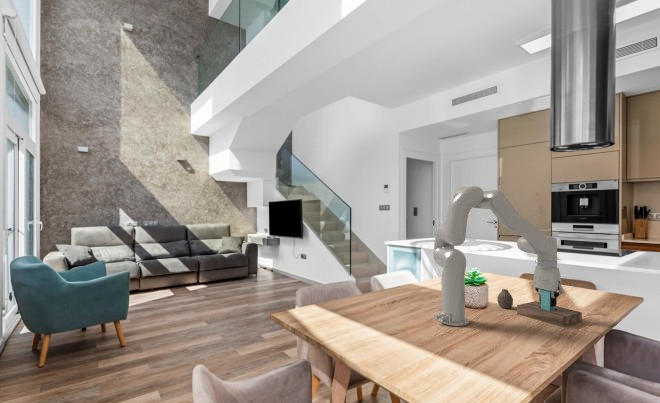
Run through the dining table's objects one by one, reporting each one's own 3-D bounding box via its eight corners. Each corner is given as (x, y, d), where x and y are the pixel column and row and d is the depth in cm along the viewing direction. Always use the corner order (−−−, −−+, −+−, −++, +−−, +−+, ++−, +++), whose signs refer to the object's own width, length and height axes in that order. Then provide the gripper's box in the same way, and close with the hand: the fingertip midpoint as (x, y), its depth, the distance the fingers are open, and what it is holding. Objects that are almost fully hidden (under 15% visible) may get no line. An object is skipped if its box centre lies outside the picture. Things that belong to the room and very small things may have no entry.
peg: (549, 315, 150) (549, 287, 150) (540, 312, 154) (540, 285, 154) (555, 313, 152) (555, 286, 152) (546, 311, 155) (545, 284, 156)
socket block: (562, 327, 141) (562, 317, 141) (517, 313, 158) (517, 305, 158) (581, 321, 147) (581, 312, 147) (536, 309, 165) (535, 301, 165)
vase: (511, 310, 163) (511, 292, 164) (496, 308, 168) (495, 290, 168) (514, 307, 169) (514, 289, 169) (499, 304, 173) (498, 287, 173)
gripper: (524, 262, 159) (524, 301, 158) (561, 267, 144) (562, 311, 144) (534, 260, 162) (534, 299, 162) (572, 266, 147) (573, 308, 147)
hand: (547, 304), depth 153 cm, fingers closed on peg, 4 cm apart
